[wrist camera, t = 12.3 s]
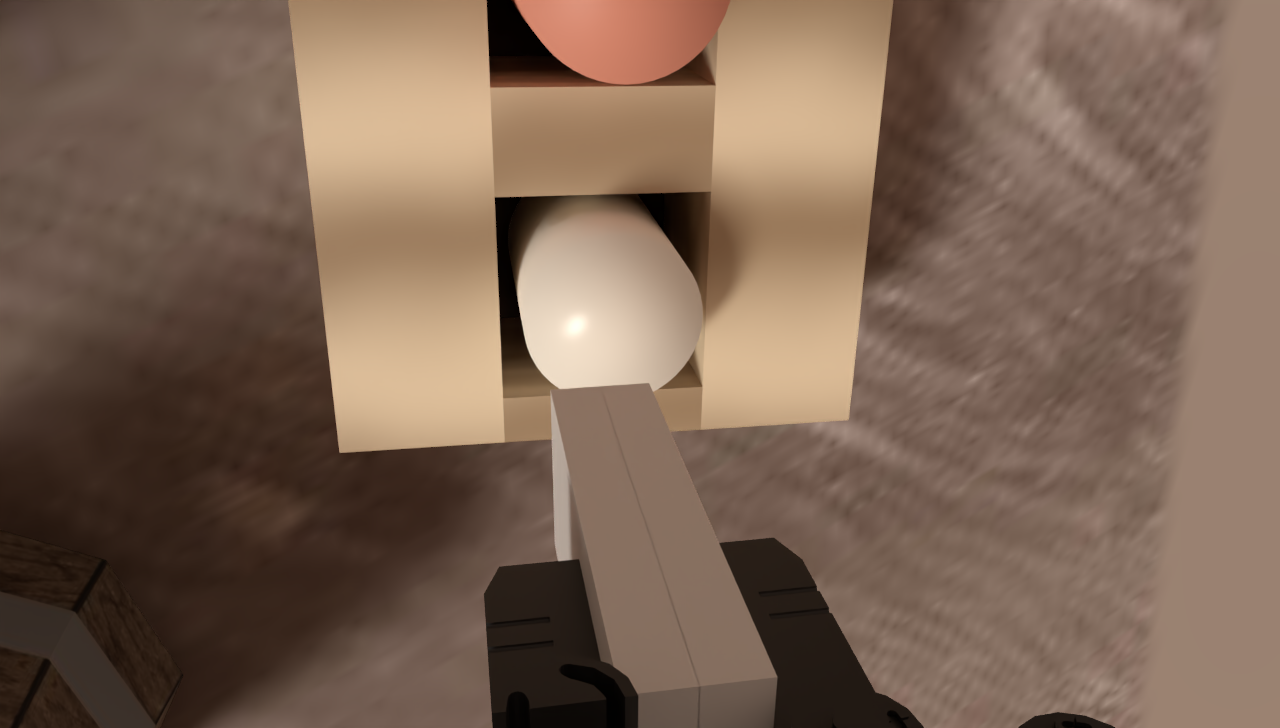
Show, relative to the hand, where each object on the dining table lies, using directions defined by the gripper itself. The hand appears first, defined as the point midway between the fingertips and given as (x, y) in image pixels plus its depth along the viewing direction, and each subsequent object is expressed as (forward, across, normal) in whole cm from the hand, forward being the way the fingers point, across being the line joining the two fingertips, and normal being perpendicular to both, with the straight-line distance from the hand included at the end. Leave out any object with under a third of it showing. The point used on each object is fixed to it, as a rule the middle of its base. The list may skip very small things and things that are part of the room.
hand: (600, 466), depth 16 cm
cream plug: (+16, +2, -1) cm, 16 cm away
